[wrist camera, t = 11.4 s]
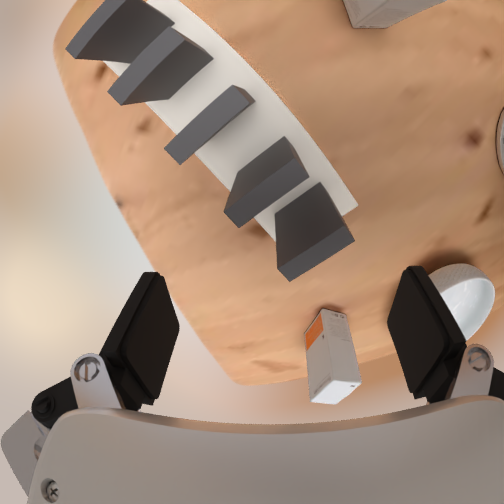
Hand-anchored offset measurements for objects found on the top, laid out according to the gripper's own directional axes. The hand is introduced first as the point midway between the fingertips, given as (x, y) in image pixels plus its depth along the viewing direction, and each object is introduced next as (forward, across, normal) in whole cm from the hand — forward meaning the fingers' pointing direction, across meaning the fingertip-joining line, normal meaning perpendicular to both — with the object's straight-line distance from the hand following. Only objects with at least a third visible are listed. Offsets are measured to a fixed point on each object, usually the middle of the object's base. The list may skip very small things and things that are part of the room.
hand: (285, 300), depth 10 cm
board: (+20, +5, -6) cm, 21 cm away
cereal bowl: (+20, -25, +19) cm, 37 cm away
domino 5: (+19, -2, +4) cm, 20 cm away
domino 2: (+19, +8, -10) cm, 23 cm away
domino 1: (+19, +12, -15) cm, 27 cm away
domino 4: (+19, +1, -1) cm, 19 cm away
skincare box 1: (+20, -7, +23) cm, 32 cm away
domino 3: (+19, +4, -6) cm, 21 cm away
